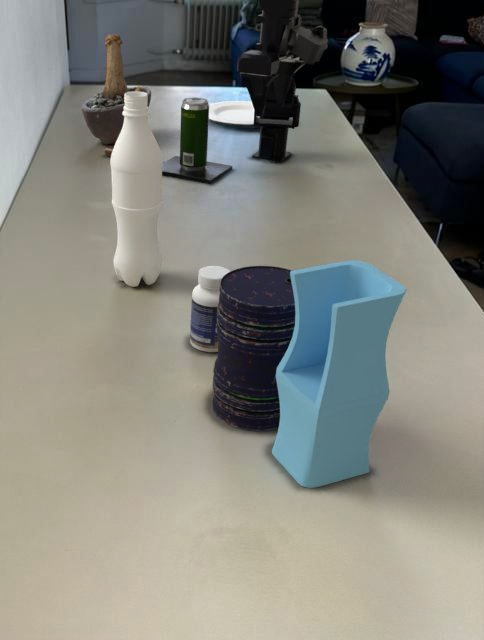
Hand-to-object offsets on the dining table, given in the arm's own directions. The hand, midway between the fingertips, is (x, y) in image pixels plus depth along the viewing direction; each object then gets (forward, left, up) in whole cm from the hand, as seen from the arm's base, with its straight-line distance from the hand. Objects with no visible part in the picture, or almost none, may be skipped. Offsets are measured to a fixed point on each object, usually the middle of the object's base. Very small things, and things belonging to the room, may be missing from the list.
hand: (270, 111), depth 137 cm
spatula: (-1, -23, -13) cm, 26 cm away
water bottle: (+48, 0, -13) cm, 50 cm away
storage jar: (+71, +29, -13) cm, 78 cm away
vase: (+77, +39, -13) cm, 87 cm away
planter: (-12, -40, -13) cm, 44 cm away
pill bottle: (+60, +18, -13) cm, 64 cm away
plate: (-41, -23, -13) cm, 49 cm away
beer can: (-1, -16, -13) cm, 20 cm away
